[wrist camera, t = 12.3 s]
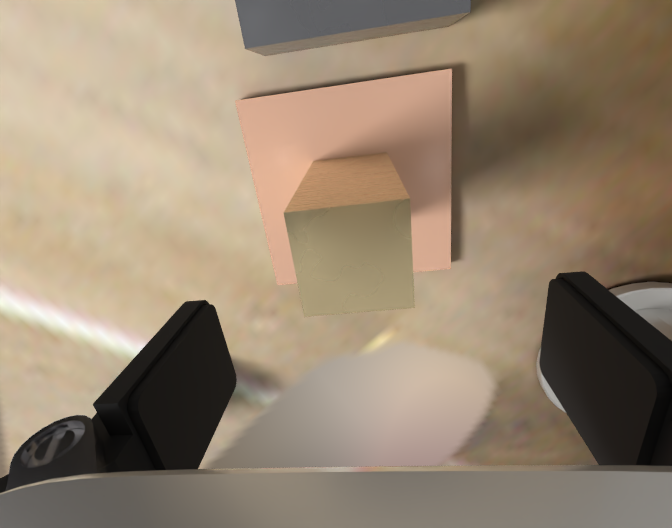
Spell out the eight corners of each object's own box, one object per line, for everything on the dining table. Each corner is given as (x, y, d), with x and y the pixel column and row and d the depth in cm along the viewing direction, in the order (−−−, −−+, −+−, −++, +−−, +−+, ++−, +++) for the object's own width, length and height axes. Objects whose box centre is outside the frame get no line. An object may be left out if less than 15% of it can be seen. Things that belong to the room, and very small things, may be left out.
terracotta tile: (448, 69, 20) (452, 68, 19) (447, 263, 25) (450, 268, 24) (239, 100, 21) (235, 100, 20) (279, 279, 26) (277, 285, 25)
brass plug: (386, 151, 21) (410, 198, 12) (391, 222, 23) (414, 307, 14) (313, 161, 22) (283, 212, 13) (323, 229, 24) (304, 316, 15)
